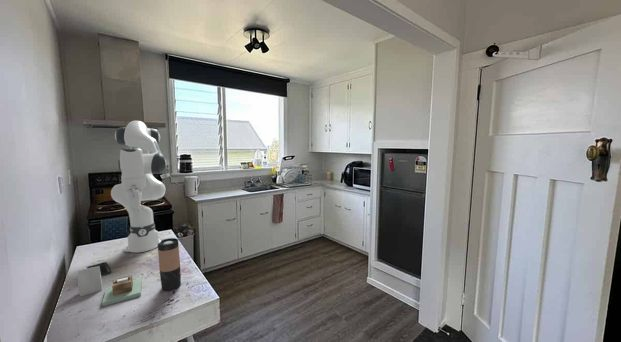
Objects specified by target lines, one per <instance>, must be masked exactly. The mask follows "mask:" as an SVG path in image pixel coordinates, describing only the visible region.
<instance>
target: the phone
mask: <svg viewBox="0 0 621 342" xmlns="http://www.w3.org/2000/svg"><path fill="white" fill-rule="evenodd" d="M97 266H100V271H101V278H102V277H105V276H108V275H111V273H112V271H111V268H110V266H109V263H108V262H107V261H103V262H100V263H97V264H92V265H89V266H86V269H88V268H92V267H97Z"/></svg>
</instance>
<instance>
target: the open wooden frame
mask: <svg viewBox="0 0 621 342" xmlns="http://www.w3.org/2000/svg"><path fill="white" fill-rule="evenodd" d="M127 277H128V281H125V282H120V283H117V280H118V279H122V278H127ZM133 281H134V280H133V275H132V274H131V275H127V276H123V277H118V278H114V279H113V281H112V285H111V286H112V289H113V296H115V295H119V294H122V293H126V292H130V291H132V287H133Z"/></svg>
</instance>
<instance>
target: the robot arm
mask: <svg viewBox="0 0 621 342" xmlns="http://www.w3.org/2000/svg"><path fill="white" fill-rule="evenodd" d="M114 139H115V141H116V143H117V144H118V145H121V146H126V147H123V148H121V149H120V150H119V151H120V153H119V159H118V160H117V163H118V170H119V172H121V177H120V178H121V183H119V184H115V185H114V186H113V187H112V188H111V190H110V196H111V199H112V200H113V201H115V202H116V203H119V204H120V205H121V206H123V207H124V208H125V210H126V211H127V213H128V216H129V223H130V226H129V232H130V234H129V235H128V236H127V246H126V247H125V249H124V252H126V253H128V252H131V253H143V252H144V253H145V252H147V251H148V252H149V251H151V250H152V251H153V250H154V249H156V248H158V243H160V242H161V241H162V240H161V238H160V236H159V231H158V230H156V224H155V221H154V211H153V209H152V208H150V206H146V205H143V204H141V203H142V202H144V201H153V200H157V199H162V198H163V197H164V196H165V194H166V190H167V189H166V185H165V184H164V183H163V182H162V181H160V180H158V179H157V178H156V177H155V176H154V175H155V174H156V175H158V174H159V175H161V174H162V173H163V172H164V171H166V169H167V160H166V158H165V155H164V154H163V152H162V149H161V147H160V145H159V143H160V141H161V135H160V132H159V130H158V129H155V128H153V127H152V128H151V127H148V126H147V124H145V123H144V122H143V121H141V120H132V121H130V122H128V124H126V126H122V127H118V128H117V129H116V130H115V133H114ZM127 146H128V147H127Z"/></svg>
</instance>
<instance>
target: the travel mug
mask: <svg viewBox="0 0 621 342" xmlns="http://www.w3.org/2000/svg"><path fill="white" fill-rule="evenodd" d="M157 251H158V252H157V253H158V266H159V267H158V268H159V277H160V278H159V279H160V284H161V290H162V292H171V291H175V290H177V289H179V288H180V287H181V284H182V283H181V281H182V280H181V279H182V277H181V274H182V273H181V259H180V258H181V257H180V247H179V239H178V238H174V237H173V238H172V237H171V238H170V237H169V238H166V239H165V238H164V239H162V240H161V242H160V243H158V247H157Z"/></svg>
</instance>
